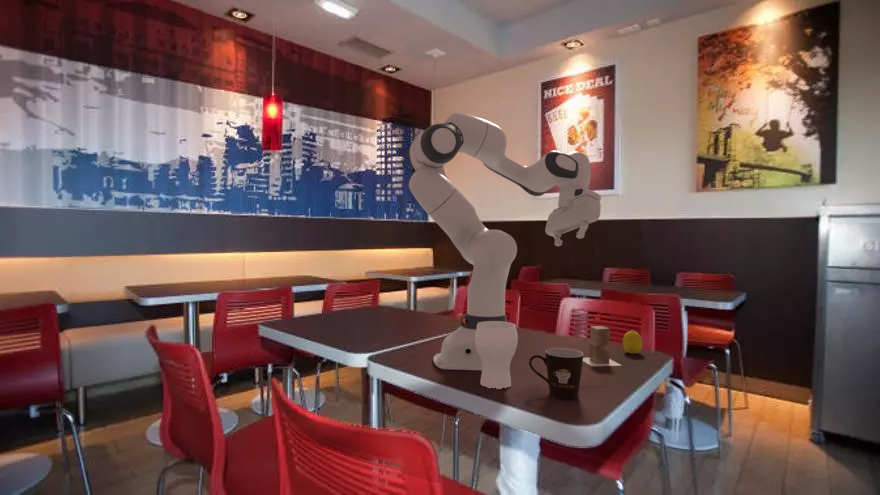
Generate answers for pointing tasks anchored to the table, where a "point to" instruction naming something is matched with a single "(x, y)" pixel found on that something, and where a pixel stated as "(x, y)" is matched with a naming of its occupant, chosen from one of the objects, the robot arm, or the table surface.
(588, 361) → the tile
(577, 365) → the coffee mug
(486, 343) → the cup
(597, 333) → the tall wooden block
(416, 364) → the table surface
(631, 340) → the lemon
